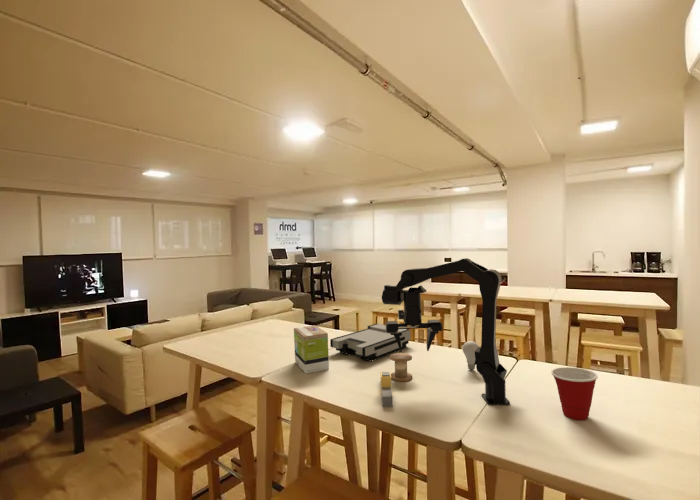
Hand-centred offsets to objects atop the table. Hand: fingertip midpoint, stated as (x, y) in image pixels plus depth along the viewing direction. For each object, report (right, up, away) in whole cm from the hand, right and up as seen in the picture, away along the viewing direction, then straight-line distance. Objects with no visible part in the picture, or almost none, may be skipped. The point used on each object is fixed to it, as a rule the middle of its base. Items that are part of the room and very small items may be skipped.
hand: (414, 351), depth 117 cm
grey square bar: (-10, -12, -6) cm, 17 cm away
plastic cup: (+40, -11, -23) cm, 47 cm away
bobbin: (-3, -12, +7) cm, 14 cm away
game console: (-12, -12, +39) cm, 43 cm away
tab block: (-10, -12, -6) cm, 17 cm away
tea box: (-38, -13, +21) cm, 45 cm away
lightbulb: (+24, -11, +12) cm, 29 cm away
